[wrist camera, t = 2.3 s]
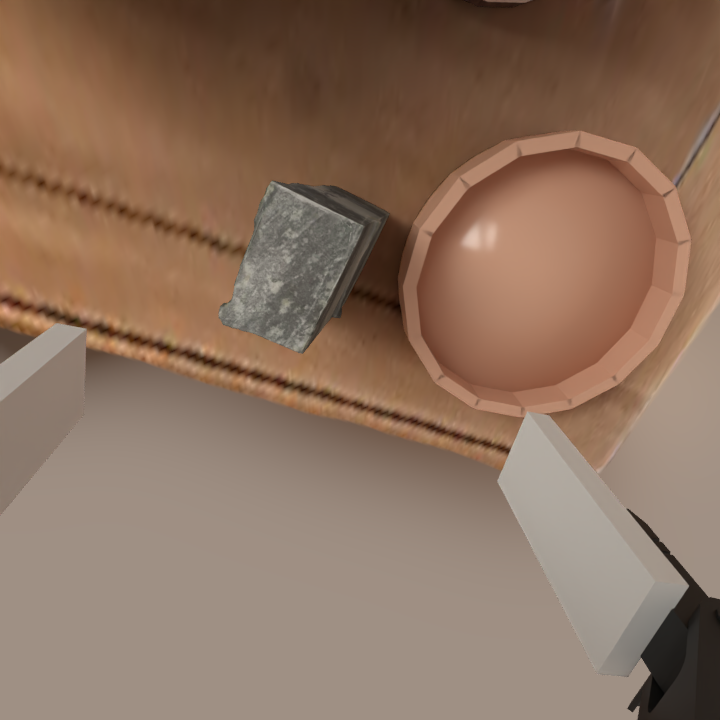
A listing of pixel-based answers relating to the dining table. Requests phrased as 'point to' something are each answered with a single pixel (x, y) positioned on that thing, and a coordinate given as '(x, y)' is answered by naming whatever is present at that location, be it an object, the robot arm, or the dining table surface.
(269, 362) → the dining table surface
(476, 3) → the mug
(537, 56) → the dining table surface
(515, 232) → the dish
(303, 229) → the stone block
